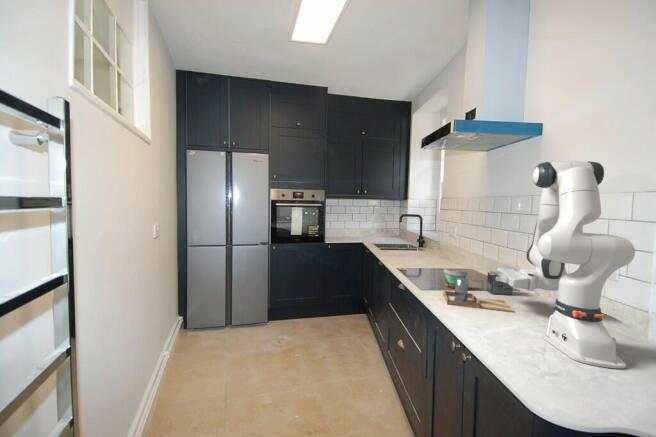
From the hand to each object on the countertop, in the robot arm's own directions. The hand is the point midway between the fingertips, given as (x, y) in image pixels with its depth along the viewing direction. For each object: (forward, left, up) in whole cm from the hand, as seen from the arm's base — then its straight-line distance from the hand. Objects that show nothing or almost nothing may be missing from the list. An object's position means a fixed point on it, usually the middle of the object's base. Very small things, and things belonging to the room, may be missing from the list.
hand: (492, 275), depth 134 cm
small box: (+20, -10, -14) cm, 27 cm away
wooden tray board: (-1, +6, -14) cm, 15 cm away
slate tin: (-1, +13, -14) cm, 19 cm away
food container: (+20, +12, -14) cm, 28 cm away
